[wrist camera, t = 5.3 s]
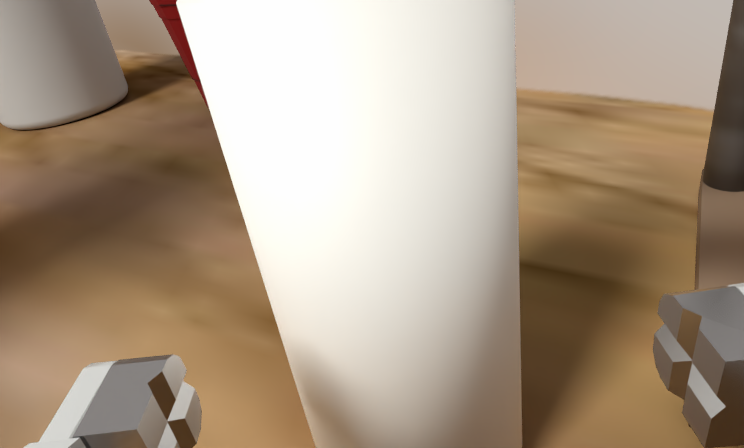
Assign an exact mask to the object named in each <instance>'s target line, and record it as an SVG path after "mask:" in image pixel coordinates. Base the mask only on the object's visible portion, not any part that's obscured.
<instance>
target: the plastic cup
mask: <svg viewBox="0 0 744 448" xmlns="http://www.w3.org/2000/svg"><path fill="white" fill-rule="evenodd" d="M149 1H150V2H151V4H152V5H153V6H154V8H155V10H156V11H157V13H158V15H159V17H161V18H162V21H163V23H164V24H165V26H166V28H167V30H168V32H169V34H170V36H171V38H172V40H173V42H174V44H175V46H176V48H177V50H178V52H179V54H180V56H181V58H182V60H183V62H184V64H185V66H186V68H187V69H188V71H189V73H190V75H191V77H192V79H193V80H194V81H195V83H196V85H197V87H198V89H199V91H200V93H201V95H202V97H203V99H204V101H205V103H206V105H207V107H208V108H209V106H208V103H207V100H206V97H205V94H204V90H203V87H202V84H201V81H200V78H199V74H198V71H197V68H196V65H195V62H194V59H193V55H192V52H191V49H190V46H189V43H188V39H187V36H186V33H185V30H184V27H183V24H182V20H181V17H180V14H179V11H178V8H177V5H176V2H177V0H149Z"/></svg>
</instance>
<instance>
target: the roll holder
mask: <svg viewBox="0 0 744 448" xmlns="http://www.w3.org/2000/svg"><path fill="white" fill-rule="evenodd" d="M739 283H744V0H733V6H732V12H731V18H730V24H729V30H728V35H727V40H726V47H725V52H724V58H723V64H722V70H721V75H720V81H719V86H718V92H717V98H716V104H715V109H714V115H713V121H712V127H711V132H710V138H709V144H708V149H707V155H706V161H705V167H704V169H703V170H702V176H701V182H700V187H699V197H698V220H697V244H696V267H695V290H698V289H706V288H713V287H721V286H728V285H732V284H739ZM689 426H690V425H689ZM690 427H691V426H690Z"/></svg>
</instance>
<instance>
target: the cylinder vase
mask: <svg viewBox="0 0 744 448" xmlns="http://www.w3.org/2000/svg"><path fill="white" fill-rule="evenodd" d="M127 92H128V85H127V82H126V80H125V77H124V75H123V72H122V69H121V67H120V64H119V62H118V59H117V56H116V54H115V51H114V49H113V46H112V43H111V41H110V38H109V36H108V33H107V31H106V28H105V25H104V23H103V20H102V18H101V15H100V12H99V10H98V8H97V5H96V2H95V0H0V122H1V123H2V124H3V125H4V126H6V127H8V128H11V129H16V130H32V129H40V128H47V127H52V126H57V125H61V124H65V123H69V122H73V121H76V120H79V119H82V118H85V117H88V116H91V115H94V114H96V113H99V112H101V111H104V110H106V109H108V108H110V107H112V106H114V105H115V104H117V103H118V102H120V101H121V100H122V99H123V98H124V97H125V96H126V94H127Z"/></svg>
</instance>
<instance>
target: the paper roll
mask: <svg viewBox="0 0 744 448" xmlns="http://www.w3.org/2000/svg"><path fill="white" fill-rule="evenodd" d="M176 5H177V8H178V11H179V14H180V17H181V20H182V24H183V27H184V30H185V33H186V36H187V39H188V43H189V46H190V49H191V52H192V55H193V59H194V62H195V65H196V68H197V71H198V74H199V78H200V81H201V84H202V87H203V90H204V94H205V97H206V100H207V103H208V106H209V109H210V113H211V116H212V119H213V122H214V125H215V129H216V132H217V135H218V138H219V141H220V144H221V148H222V151H223V154H224V157H225V160H226V164H227V167H228V170H229V173H230V176H231V179H232V183H233V186H234V189H235V192H236V195H237V199H238V202H239V205H240V208H241V211H242V214H243V218H244V221H245V224H246V227H247V230H248V234H249V237H250V240H251V243H252V246H253V249H254V253H255V256H256V259H257V262H258V265H259V268H260V272H261V275H262V278H263V281H264V284H265V288H266V291H267V294H268V297H269V300H270V303H271V307H272V310H273V313H274V316H275V319H276V323H277V326H278V329H279V332H280V335H281V338H282V342H283V345H284V348H285V351H286V354H287V358H288V361H289V364H290V367H291V370H292V373H293V377H294V380H295V383H296V386H297V389H298V393H299V396H300V399H301V402H302V405H303V408H304V412H305V415H306V418H307V421H308V424H309V428H310V431H311V434H312V437H313V440H314V443H315V447H316V448H522V396H521V338H520V281H519V223H518V165H517V108H516V50H515V0H177V2H176Z"/></svg>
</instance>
